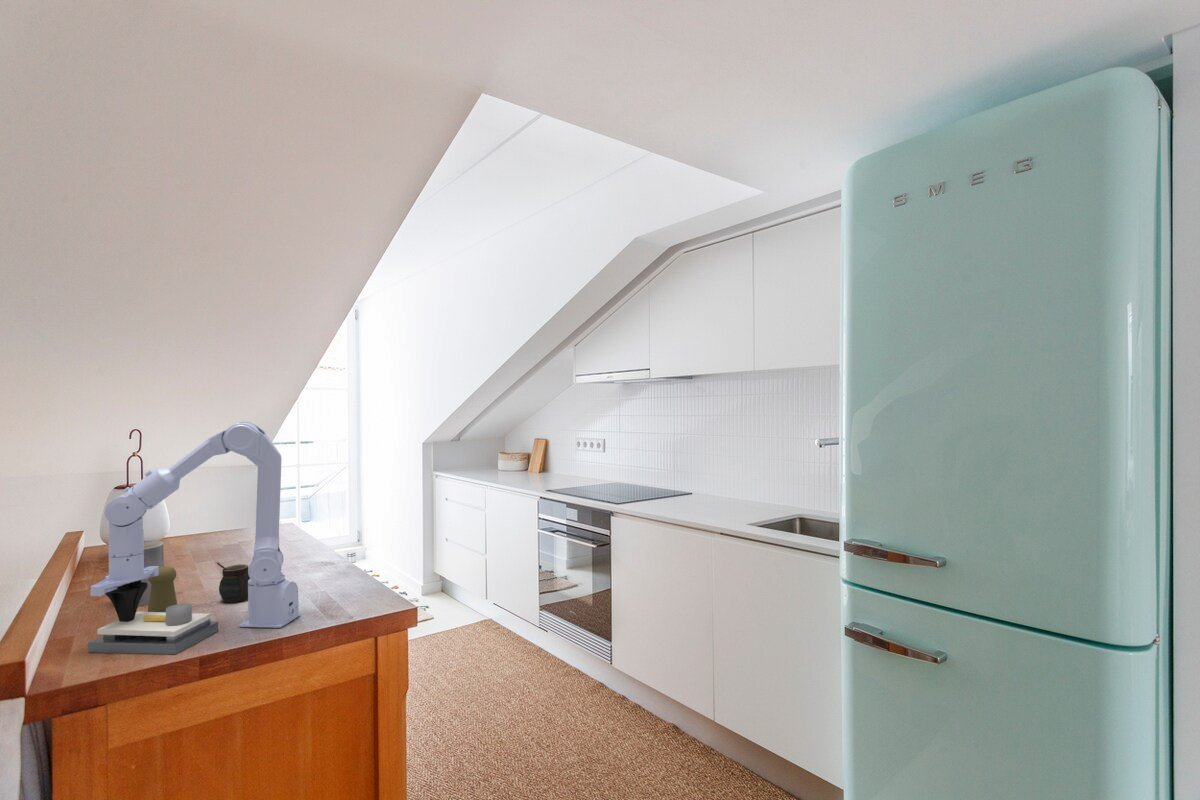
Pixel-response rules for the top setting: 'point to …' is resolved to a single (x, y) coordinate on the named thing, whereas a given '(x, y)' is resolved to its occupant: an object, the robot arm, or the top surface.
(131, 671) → the top surface
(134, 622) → the plate
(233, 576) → the mate gourd
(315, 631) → the top surface
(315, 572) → the top surface
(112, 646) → the grey rectangular base
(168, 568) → the cork
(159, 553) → the pillar candle
